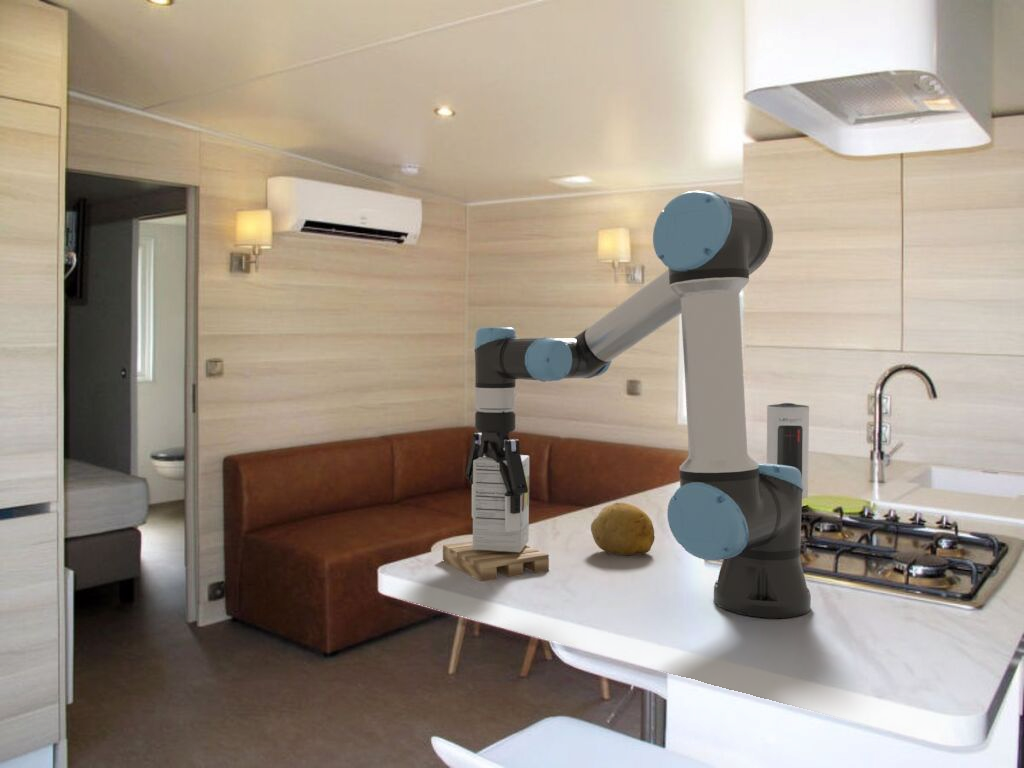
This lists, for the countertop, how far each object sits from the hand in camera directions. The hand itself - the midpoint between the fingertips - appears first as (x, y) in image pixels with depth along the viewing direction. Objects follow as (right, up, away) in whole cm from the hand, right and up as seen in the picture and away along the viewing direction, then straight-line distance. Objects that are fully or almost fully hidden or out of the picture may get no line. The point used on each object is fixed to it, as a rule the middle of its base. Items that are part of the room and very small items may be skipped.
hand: (495, 523), depth 161 cm
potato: (+25, -8, +11) cm, 28 cm away
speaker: (+74, -5, +60) cm, 96 cm away
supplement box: (+1, -4, +1) cm, 5 cm away
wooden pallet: (0, -8, +1) cm, 8 cm away
